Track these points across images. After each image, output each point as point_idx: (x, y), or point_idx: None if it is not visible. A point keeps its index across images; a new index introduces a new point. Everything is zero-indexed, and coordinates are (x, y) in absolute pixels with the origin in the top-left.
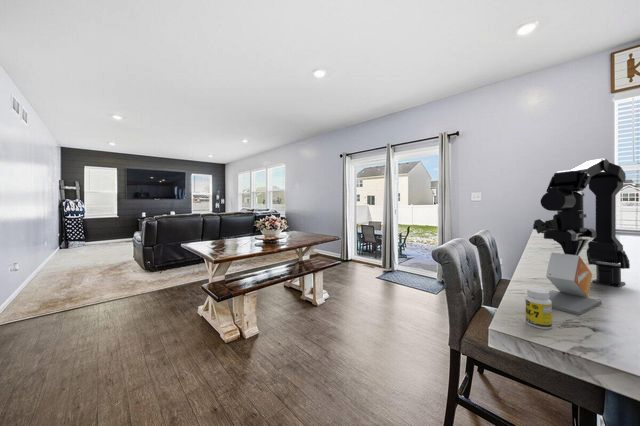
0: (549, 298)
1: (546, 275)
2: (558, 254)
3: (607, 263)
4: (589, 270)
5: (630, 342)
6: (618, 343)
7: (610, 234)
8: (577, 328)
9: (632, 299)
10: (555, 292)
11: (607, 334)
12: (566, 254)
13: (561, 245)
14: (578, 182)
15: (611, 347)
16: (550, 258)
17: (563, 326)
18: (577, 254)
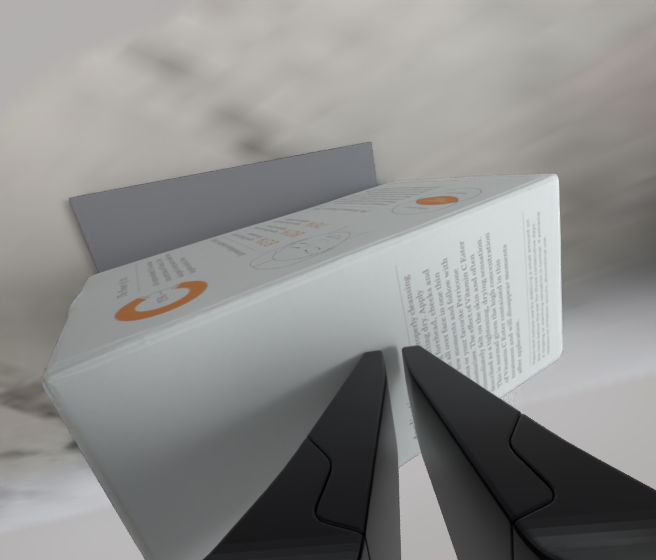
0: (189, 238)
1: (89, 278)
2: (85, 446)
3: None
4: (499, 395)
5: (95, 503)
6: (59, 495)
7: None
8: (38, 422)
9: (612, 376)
10: (336, 183)
11: (86, 468)
12: (126, 525)
13: (217, 553)
14: None
15: (21, 496)
16: (64, 335)
17: (6, 400)
18: (438, 501)
